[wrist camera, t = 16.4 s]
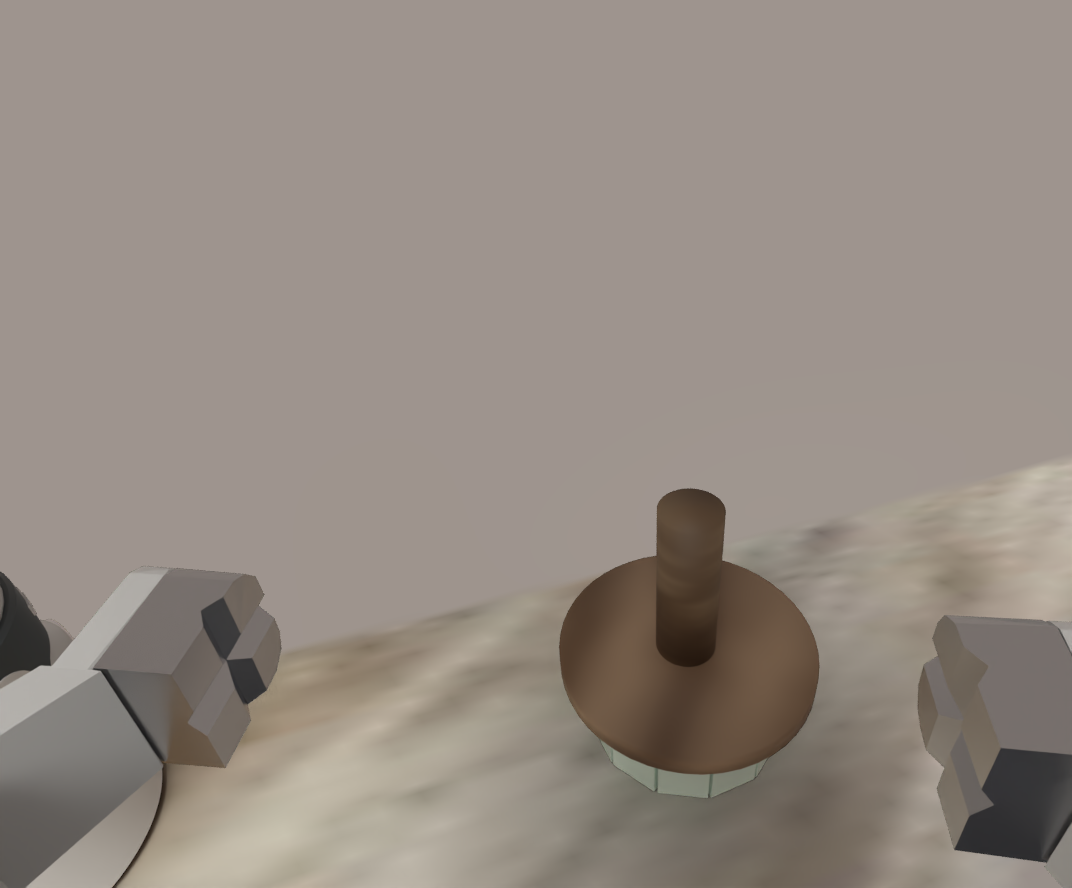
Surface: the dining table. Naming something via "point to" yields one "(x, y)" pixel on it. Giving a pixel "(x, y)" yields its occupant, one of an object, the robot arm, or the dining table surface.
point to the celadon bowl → (682, 777)
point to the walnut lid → (689, 652)
